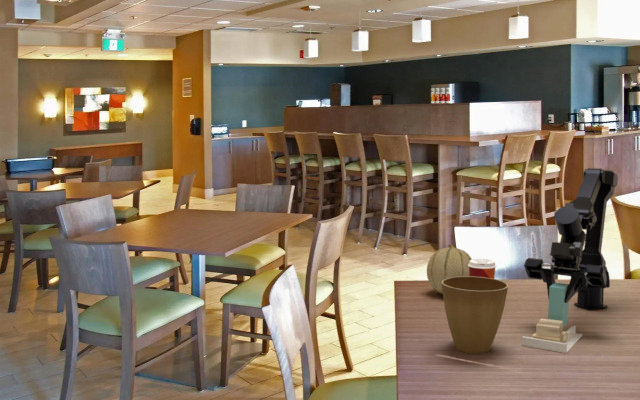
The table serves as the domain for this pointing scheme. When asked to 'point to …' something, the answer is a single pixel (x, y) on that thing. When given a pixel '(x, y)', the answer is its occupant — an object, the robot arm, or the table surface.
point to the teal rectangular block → (558, 303)
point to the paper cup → (482, 268)
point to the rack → (552, 345)
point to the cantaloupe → (447, 266)
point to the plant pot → (474, 311)
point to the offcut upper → (549, 328)
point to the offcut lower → (560, 339)
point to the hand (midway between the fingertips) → (557, 301)
